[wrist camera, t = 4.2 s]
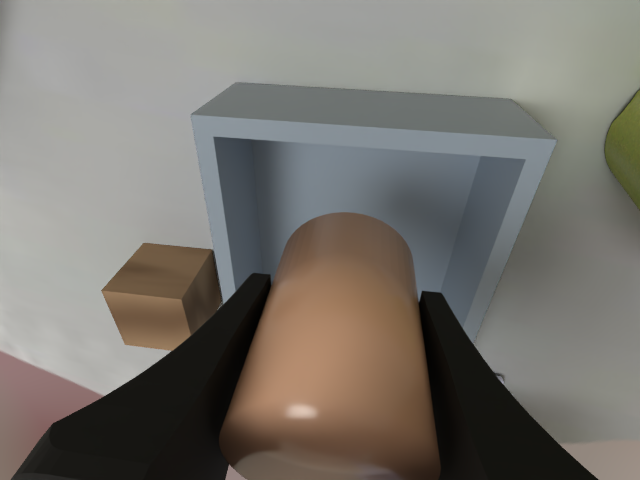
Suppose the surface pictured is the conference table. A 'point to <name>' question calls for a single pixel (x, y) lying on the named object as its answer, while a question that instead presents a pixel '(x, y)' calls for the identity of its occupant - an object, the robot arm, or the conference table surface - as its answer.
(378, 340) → the terracotta cylinder
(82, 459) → the robot arm
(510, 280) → the conference table surface
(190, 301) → the walnut cube
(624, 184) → the plant pot
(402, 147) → the box
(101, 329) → the conference table surface
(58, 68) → the conference table surface
